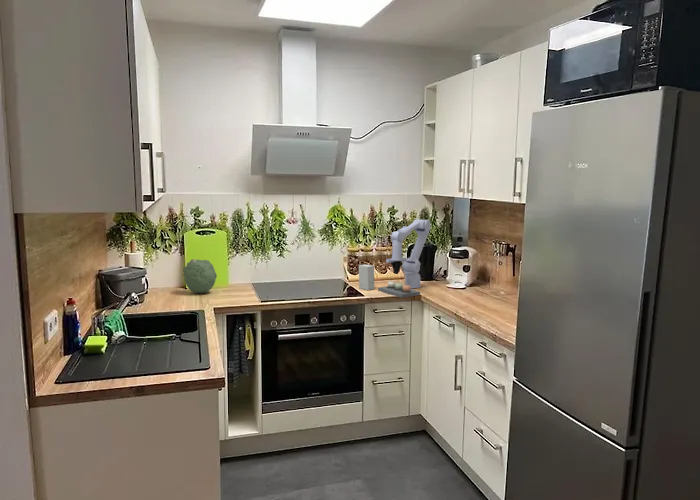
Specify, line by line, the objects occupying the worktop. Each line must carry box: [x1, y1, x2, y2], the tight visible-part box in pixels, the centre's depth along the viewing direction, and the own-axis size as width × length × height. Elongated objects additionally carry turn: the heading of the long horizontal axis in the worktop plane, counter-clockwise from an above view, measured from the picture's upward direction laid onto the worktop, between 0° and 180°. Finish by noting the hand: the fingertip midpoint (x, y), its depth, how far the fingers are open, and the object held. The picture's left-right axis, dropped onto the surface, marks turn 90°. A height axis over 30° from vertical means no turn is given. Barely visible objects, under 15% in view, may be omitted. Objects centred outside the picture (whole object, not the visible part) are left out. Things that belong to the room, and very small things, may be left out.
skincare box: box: [358, 263, 375, 291], centre depth 311 cm, size 8×6×15 cm
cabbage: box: [182, 259, 218, 294], centre depth 293 cm, size 16×19×20 cm
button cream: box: [387, 280, 396, 287], centre depth 307 cm, size 4×4×3 cm
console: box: [377, 285, 421, 299], centre depth 302 cm, size 14×22×2 cm, turn 34°
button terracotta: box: [403, 284, 410, 292], centre depth 296 cm, size 4×4×3 cm
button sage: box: [395, 282, 404, 289], centre depth 302 cm, size 4×4×3 cm
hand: (396, 273), depth 307 cm, fingers closed
